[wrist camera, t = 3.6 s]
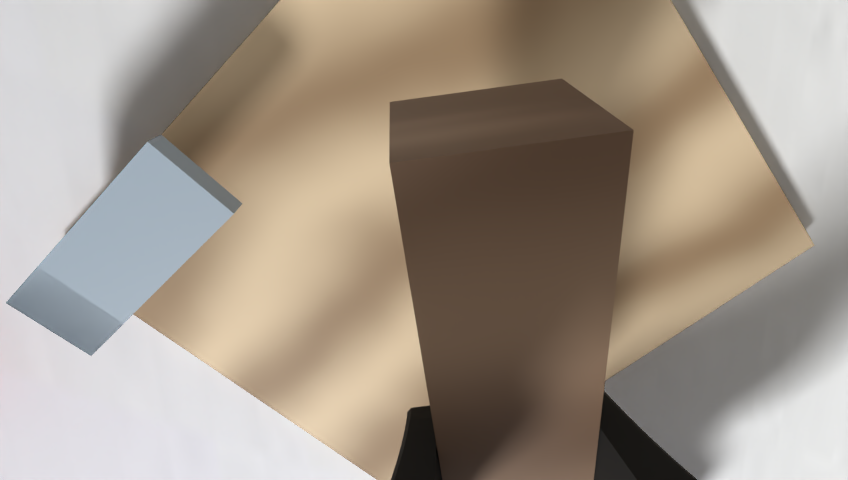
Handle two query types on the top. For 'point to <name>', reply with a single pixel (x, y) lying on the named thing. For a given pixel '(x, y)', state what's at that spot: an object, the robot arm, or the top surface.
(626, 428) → the robot arm
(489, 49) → the board
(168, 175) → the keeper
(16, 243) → the top surface
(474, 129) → the link
